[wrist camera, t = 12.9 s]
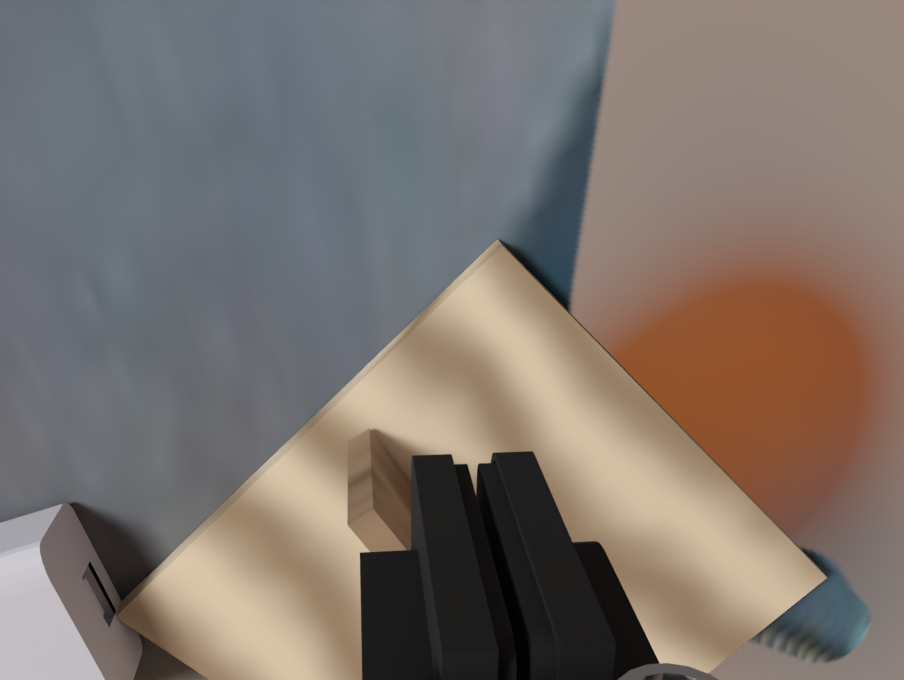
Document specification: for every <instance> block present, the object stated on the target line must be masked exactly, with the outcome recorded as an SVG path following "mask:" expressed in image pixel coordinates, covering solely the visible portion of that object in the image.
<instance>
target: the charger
mask: <svg viewBox="0 0 904 680" xmlns="http://www.w3.org/2000/svg"><path fill="white" fill-rule="evenodd" d="M89 562H91V564H92V566H93V568H94V570H95V572H96V573H97V575H98V577H99V579H100V581H101V583H102V585H103V587H104V589H105V590H106V592H107V594H108V596H109V598H110V600H111V602H112V604H113V606H114V607H115V609H116V612H115V615H114V613H113V611H112V609H111V607H110V605H109V604H108V602H107V600H106V598H105V596H104V594H103V592H102V590H101V589H100V587H99V585H98V583H97V581H96V579H95V577H94V575H93V574H92V572H91V570H90V568H89V566H88V564H89ZM120 604H121V599H120V597H119V595H118V593H117V591H116V589H115V587H114V586H113V584H112V582H111V580H110V578H109V576H108V574H107V572H106V570H105V568H104V567H103V565H102V563H101V561H100V559H99V557H98V555H97V553H96V551H95V549H94V547H93V546H92V544H91V542H90V540H89V538H88V536H87V534H86V532H85V530H84V528H83V527H82V525H81V523H80V521H79V519H78V517H77V515H76V513H75V512H74V510H73V508H72V507H71V506H70V505H69V504H67V503H63V504H60V505H57V506H53V507H50V508H47V509H44V510H40V511H37V512H34V513H31V514H27V515H24V516H21V517H17V518H14V519H11V520H8V521H4V522H1V523H0V680H134V677H135V674H136V671H137V668H138V665H139V662H140V658H141V655H142V642H141V638H140V636H139V634H138V632H137V631H135V630H134V629H132V628H131V627H129V626H128V625H126V624H125V623H123V622H122V621H120V620H119V619H117V618H116V615H117V612H118V610H119V607H120Z"/></svg>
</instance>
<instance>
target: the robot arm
mask: <svg viewBox="0 0 904 680" xmlns="http://www.w3.org/2000/svg"><path fill="white" fill-rule="evenodd" d="M360 589H361V641H362V680H718V679H717V678H715V677H713V676H712V675H710V674H708V673H705V672H703V671H700V670H697V669H694V668H692V667H689V666H683V665H676V664H670V663H661V664H660V663H659V661H658V659H657V657H656V655H655V653H654V651H653V649H652V647H651V644H650V642H649V640H648V638H647V636H646V634H645V632H644V630H643V628H642V626H641V624H640V622H639V620H638V618H637V616H636V614H635V612H634V610H633V608H632V605H631V603H630V601H629V599H628V597H627V595H626V593H625V591H624V589H623V587H622V585H621V583H620V581H619V579H618V577H617V575H616V573H615V571H614V569H613V566H612V564H611V562H610V560H609V558H608V556H607V554H606V552H605V550H604V548H603V547H602V545H601V544H600V543H599V542H597V541H587V542H572V540H571V537H570V535H569V533H568V531H567V528H566V526H565V524H564V521H563V519H562V517H561V514H560V512H559V510H558V507H557V505H556V503H555V500H554V498H553V496H552V494H551V491H550V489H549V487H548V484H547V482H546V480H545V477H544V475H543V473H542V470H541V468H540V466H539V463H538V461H537V459H536V457H535V454H534V453H533V451H524V452H497V453H493V454H492V458H491V463H479V464H478V468H477V487H476V494H475V490H474V486H473V483H472V479H471V475H470V472H469V468H468V465H467V464H454V461H453V457H452V454H442V455H414V456H412V461H411V550H402V551H382V552H361V553H360Z"/></svg>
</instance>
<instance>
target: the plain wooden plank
mask: <svg viewBox="0 0 904 680" xmlns="http://www.w3.org/2000/svg"><path fill="white" fill-rule="evenodd" d="M347 525H348V526H349V527H350V529H351V530H352V531H353V532H354V533H355V535H356V536H357V537H358V538H359V539H360V540H361V542H362V543H363V544H364V545H365V546H366V548H367V549H368V550H369V551H370V552H382V551H402V550H411V481H410V480H409V479H408V477H407V476H406V475H405V473H404V472H403V471H402V470H401V468H400V467H399V466H398V465H397V463H396V462H395V461H394V459H393V458H392V457H391V456H390V454H389V453H388V452H387V450H386V449H385V448H384V447H383V445H382V444H381V443H380V441H379V440H378V439H377V438H376V436H375V435H374V434H373V433H372V431H371V430H370V429H368V430H366V431H364V432H363V433H361V434H360V435H358V436H357V437H355V438H354V439H352V440H350V441H349V442H348V516H347Z"/></svg>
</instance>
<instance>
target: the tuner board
mask: <svg viewBox="0 0 904 680" xmlns="http://www.w3.org/2000/svg"><path fill="white" fill-rule="evenodd" d="M368 429H370V430H371V431H372V433H373V434H374V435H375V436H376V438H377V439H378V440H379V441H380V443H381V444H382V445H383V447H384V448H385V449H386V450H387V452H388V453H389V454H390V456H391V457H392V458H393V459H394V461H395V462H396V463H397V465H398V466H399V467H400V468H401V470H402V471H403V472H404V473H405V475H406V476H407V477H408V479H409V480H410V481H411V461H412V456H414V455H442V454H452V457H453V461H454V464H467V465H468V468H469V472H470V475H471V479H472V483H473V486H474V490H475V494H476V487H477V468H478V464H479V463H491V458H492V454H493V453H497V452H524V451H533V453H534V454H535V457H536V459H537V461H538V463H539V466H540V468H541V470H542V473H543V475H544V477H545V480H546V482H547V484H548V487H549V489H550V491H551V494H552V496H553V498H554V500H555V503H556V505H557V507H558V510H559V512H560V514H561V517H562V519H563V521H564V524H565V526H566V528H567V531H568V533H569V535H570V537H571V540H572V542H587V541H597V542H599V543H600V544H601V545H602V547H603V548H604V550H605V552H606V554H607V556H608V558H609V560H610V562H611V564H612V566H613V569H614V571H615V573H616V575H617V577H618V579H619V581H620V583H621V585H622V587H623V589H624V591H625V593H626V595H627V597H628V599H629V601H630V603H631V605H632V608H633V610H634V612H635V614H636V616H637V618H638V620H639V622H640V624H641V626H642V628H643V630H644V632H645V634H646V636H647V638H648V640H649V642H650V644H651V647H652V649H653V651H654V653H655V655H656V657H657V659H658V661H659V663H660V664H661V663H670V664H676V665H683V666H689V667H692V668H694V669H697V670H700V671H703V672H705V673H709V672H710V671H712V670H713V669H714V668H715V667H717V666H718V665H719V664H720V663H722V662H723V661H724V660H725V659H726V658H728V657H729V656H730V655H732V654H733V653H734V652H735V651H737V650H738V649H739V648H740V647H742V646H743V645H744V644H745V643H747V642H748V641H749V640H750V639H752V638H753V637H754V636H755V635H757V634H758V633H759V632H760V631H762V630H763V629H764V628H765V627H767V626H768V625H769V624H770V623H771V622H773V621H774V620H775V619H776V618H778V617H779V616H780V615H781V614H783V613H784V612H785V611H786V610H788V609H789V608H790V607H791V606H793V605H794V604H795V603H796V602H798V601H799V600H800V599H801V598H803V597H804V596H805V595H806V594H808V593H809V592H810V591H811V590H813V589H814V588H815V587H816V586H818V585H819V584H820V583H821V582H823V581H824V580H825V579H826V578H827V577H826V576H825V575H824V573H823V572H822V571H821V570H820V569H819V568H818V566H817V565H816V564H815V563H814V562H813V561H812V560H811V559H810V558H809V557H808V556H807V555H806V554H805V553H804V552H803V551H802V550H801V549H800V548H799V547H798V546H797V545H796V544H795V543H794V542H793V541H792V540H791V539H790V538H789V537H788V536H787V535H786V534H785V532H784V531H782V529H781V528H780V527H779V526H778V525H777V524H776V523H775V522H774V521H773V520H772V519H771V518H770V517H769V516H768V515H767V514H766V513H765V512H764V511H763V510H762V509H761V508H760V507H759V506H758V505H757V504H756V503H755V502H754V501H753V500H752V499H751V498H750V497H749V496H748V495H747V494H746V493H745V492H744V491H743V490H742V489H741V487H740V486H739V485H738V484H737V483H736V482H735V481H734V480H733V479H732V478H731V477H730V476H729V475H728V474H727V473H726V472H725V471H724V470H723V469H722V468H721V467H720V466H719V465H718V464H717V463H716V462H715V461H714V460H713V459H712V458H711V457H710V456H709V455H708V454H707V453H706V452H705V451H704V450H703V449H702V448H701V447H700V446H699V445H698V443H696V441H694V439H693V438H692V437H691V436H690V435H689V434H688V433H687V432H686V431H685V430H684V429H683V428H682V427H681V426H680V425H679V424H678V423H677V422H676V421H675V420H674V419H673V418H672V417H671V416H670V415H669V414H668V413H667V412H666V411H665V410H664V409H663V408H662V407H661V406H660V405H659V404H658V403H657V402H656V401H655V400H654V398H653V397H651V396H650V394H649V393H648V392H647V391H646V390H645V389H644V388H643V387H642V386H641V385H640V384H639V383H638V382H637V381H636V380H635V379H634V378H633V377H632V376H631V375H630V374H629V373H628V372H627V371H626V370H625V369H624V368H623V367H622V366H621V365H620V364H619V363H618V362H617V361H616V360H615V359H614V358H613V357H612V356H611V355H610V354H609V352H607V351H606V349H605V348H604V347H603V346H602V345H601V344H600V343H599V342H598V341H597V340H596V339H595V338H594V337H593V336H592V335H591V334H590V333H589V332H588V331H587V330H586V329H585V328H584V327H583V326H582V325H581V324H580V323H579V322H578V321H577V320H576V319H575V318H574V317H573V316H572V315H571V314H570V313H569V312H568V311H567V309H566V308H565V307H564V306H563V305H562V304H561V303H560V302H559V301H558V300H557V299H556V298H555V297H554V296H553V295H552V294H551V293H550V292H549V291H548V290H547V289H546V288H545V287H544V286H543V285H542V284H541V283H540V282H539V281H538V280H537V279H536V278H535V277H534V276H533V275H532V274H531V273H530V272H529V271H528V270H527V269H526V268H525V267H524V266H523V264H522V263H521V262H520V261H519V260H518V259H517V258H516V257H515V256H514V255H513V254H512V253H511V252H510V251H509V250H508V249H507V248H506V247H505V246H504V245H503V244H502V243H501V242H500V241H499V240H498V239H497V240H496V241H495V242H494V243H493V244H492V245H491V246H490V247H489V248H488V249H487V250H486V251H485V252H484V253H483V254H481V255H480V256H479V257H478V258H477V259H476V260H475V261H474V262H473V263H472V264H471V265H470V266H469V267H468V268H467V269H466V270H465V271H464V272H463V273H462V274H461V275H460V276H459V277H458V278H457V279H456V280H455V281H453V282H452V283H451V284H450V285H449V286H448V287H447V288H446V289H445V290H444V291H443V292H442V293H441V294H440V295H439V296H438V297H437V298H436V299H435V300H434V301H433V302H432V303H431V304H430V305H429V306H428V307H426V308H425V309H424V310H423V311H422V312H421V313H420V314H419V315H418V316H417V317H416V318H415V319H414V320H413V321H412V322H411V323H410V324H409V325H408V326H407V327H406V328H405V329H404V330H403V331H402V332H401V333H400V334H398V335H397V336H396V337H395V338H394V339H393V340H392V341H391V342H390V343H389V344H388V345H387V346H386V347H385V348H384V349H383V350H382V351H381V352H380V353H379V354H378V355H377V356H376V357H375V358H374V359H373V360H371V361H370V362H369V363H368V364H367V365H366V366H365V367H364V368H363V369H362V370H361V371H360V372H359V373H358V374H357V375H356V376H355V377H354V378H353V379H352V380H351V381H350V382H349V383H348V384H347V385H346V386H345V387H343V388H342V389H341V390H340V391H339V392H338V393H337V394H336V395H335V396H334V397H333V398H332V399H331V400H330V401H329V402H328V403H327V404H326V405H325V406H324V407H323V408H322V409H321V410H320V411H319V412H318V413H316V414H315V415H314V416H313V417H312V418H311V419H310V420H309V421H308V422H307V423H306V424H305V425H304V426H303V427H302V428H301V429H300V430H299V431H298V432H297V433H296V434H295V435H294V436H293V437H292V438H291V439H290V440H288V441H287V442H286V443H285V444H284V445H283V446H282V447H281V448H280V449H279V450H278V451H277V452H276V453H275V454H274V455H273V456H272V457H271V458H270V459H269V460H268V461H267V462H266V463H265V464H264V465H263V466H261V467H260V468H259V469H258V470H257V471H256V472H255V473H254V474H253V475H252V476H251V477H250V478H249V479H248V480H247V481H246V482H245V483H244V484H243V485H242V486H241V487H240V488H239V489H238V490H237V491H236V492H234V493H233V494H232V495H231V496H230V497H229V498H228V499H227V500H226V501H225V502H224V503H223V504H222V505H221V506H220V507H219V508H218V509H217V510H216V511H215V512H214V513H213V514H212V515H211V516H210V517H209V518H208V519H206V520H205V521H204V522H203V523H202V524H201V525H200V526H199V527H198V528H197V529H196V530H195V531H194V532H193V533H192V534H191V535H190V536H189V537H188V538H187V539H186V540H185V541H184V542H183V543H182V544H181V545H179V546H178V547H177V548H176V549H175V550H174V551H173V552H172V553H171V554H170V555H169V556H168V557H167V558H166V559H165V560H164V561H163V562H162V563H161V564H160V565H159V566H158V567H157V568H156V569H155V570H154V571H153V572H151V573H150V574H149V575H148V576H147V577H146V578H145V579H144V580H143V581H142V582H141V583H140V584H139V585H138V586H137V587H136V588H135V589H134V590H133V591H132V592H131V593H130V594H129V595H128V596H127V597H126V598H124V599H123V600H122V601H121V604H120V607H119V610H118V612H117V615H116V618H117V619H119V620H120V621H122V622H123V623H125V624H126V625H128V626H129V627H131V628H132V629H134V630H135V631H137V632H138V633H140V634H141V635H143V636H144V637H146V638H147V639H149V640H150V641H152V642H153V643H155V644H156V645H158V646H159V647H161V648H162V649H164V650H165V651H167V652H168V653H170V654H171V655H173V656H174V657H176V658H177V659H179V660H180V661H182V662H183V663H185V664H186V665H188V666H189V667H191V668H192V669H194V670H195V671H197V672H198V673H200V674H201V675H203V676H204V677H206V678H207V679H209V680H362V641H361V589H360V553H361V552H370V551H369V550H368V549H367V548H366V546H365V545H364V544H363V543H362V542H361V540H360V539H359V538H358V537H357V536H356V535H355V533H354V532H353V531H352V530H351V529H350V527H349V526H348V525H347V516H348V442H349V441H350V440H352V439H354V438H355V437H357V436H358V435H360V434H361V433H363V432H364V431H366V430H368Z"/></svg>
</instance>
